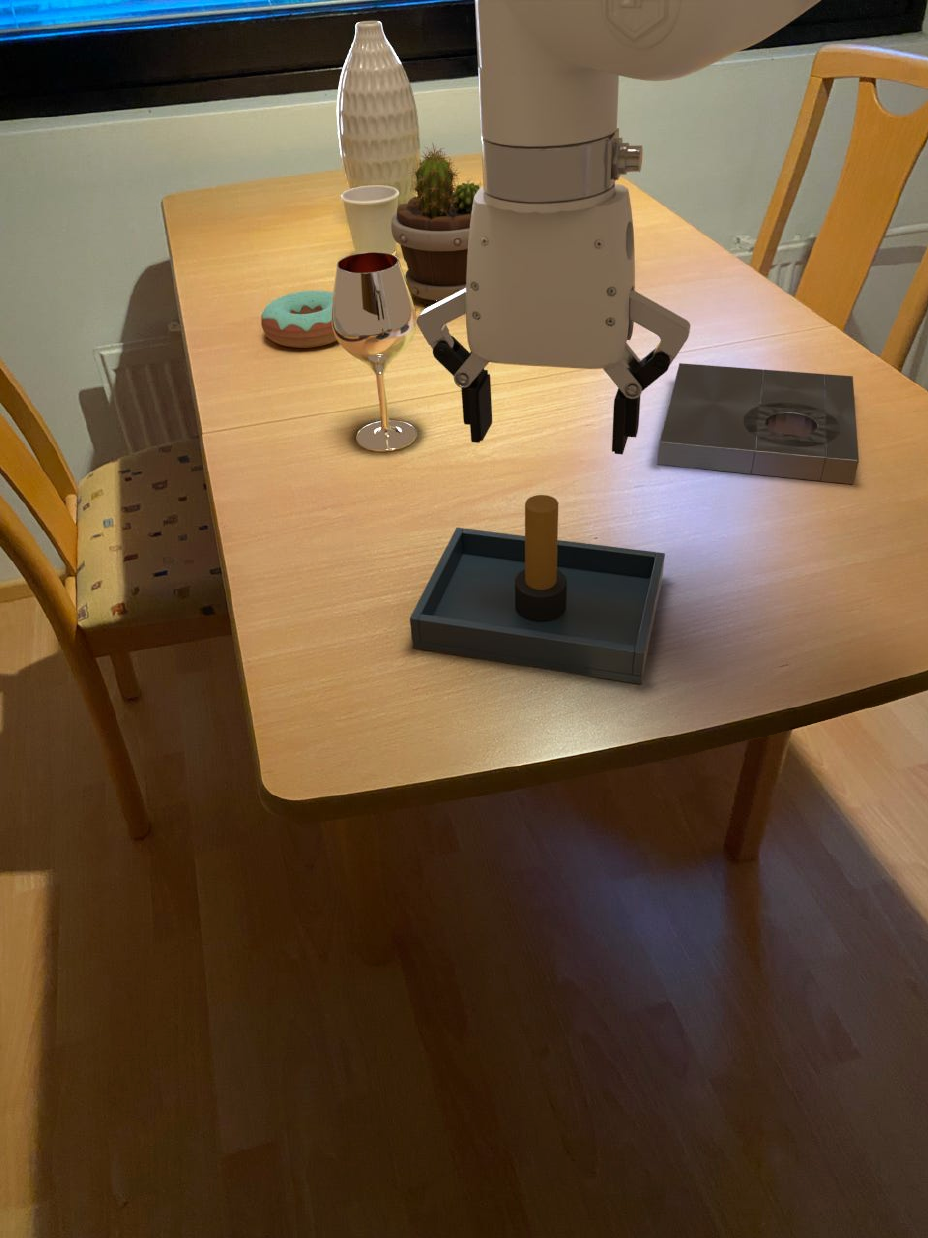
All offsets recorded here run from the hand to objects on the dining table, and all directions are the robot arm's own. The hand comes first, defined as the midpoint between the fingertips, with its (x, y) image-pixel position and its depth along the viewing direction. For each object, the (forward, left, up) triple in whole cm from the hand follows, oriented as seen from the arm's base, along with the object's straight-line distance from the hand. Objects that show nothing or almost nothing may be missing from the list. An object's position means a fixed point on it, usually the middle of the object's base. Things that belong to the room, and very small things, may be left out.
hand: (550, 438), depth 63 cm
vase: (+47, -95, -16) cm, 107 cm away
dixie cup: (+42, -75, -16) cm, 88 cm away
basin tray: (+1, 0, -16) cm, 16 cm away
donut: (+42, -49, -16) cm, 66 cm away
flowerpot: (+28, -65, -16) cm, 72 cm away
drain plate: (-14, -34, -16) cm, 40 cm away
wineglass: (+23, -25, -16) cm, 37 cm away
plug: (+1, 0, -15) cm, 15 cm away
